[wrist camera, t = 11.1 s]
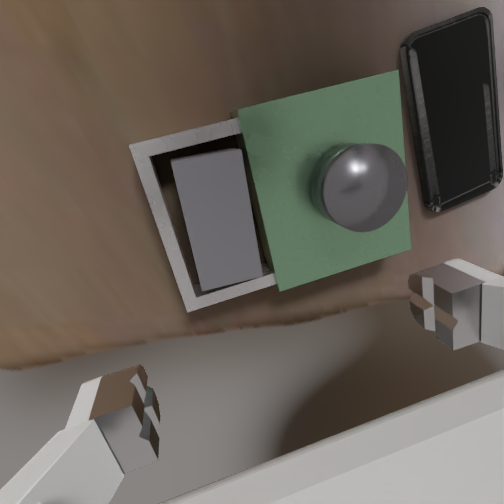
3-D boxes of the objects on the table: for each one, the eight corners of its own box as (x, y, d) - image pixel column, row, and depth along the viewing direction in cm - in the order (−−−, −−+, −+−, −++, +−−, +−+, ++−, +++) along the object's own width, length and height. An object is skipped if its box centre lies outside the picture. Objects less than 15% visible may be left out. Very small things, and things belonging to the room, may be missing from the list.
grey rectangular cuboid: (171, 158, 26) (170, 162, 21) (229, 147, 26) (241, 149, 22) (197, 266, 29) (202, 291, 24) (248, 254, 29) (262, 276, 25)
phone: (431, 215, 31) (403, 35, 26) (422, 213, 32) (394, 40, 27) (504, 184, 32) (493, 2, 26) (494, 182, 33) (481, 7, 27)
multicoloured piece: (130, 137, 24) (117, 136, 19) (375, 76, 27) (428, 60, 21) (187, 303, 29) (191, 342, 24) (390, 239, 32) (436, 260, 26)
